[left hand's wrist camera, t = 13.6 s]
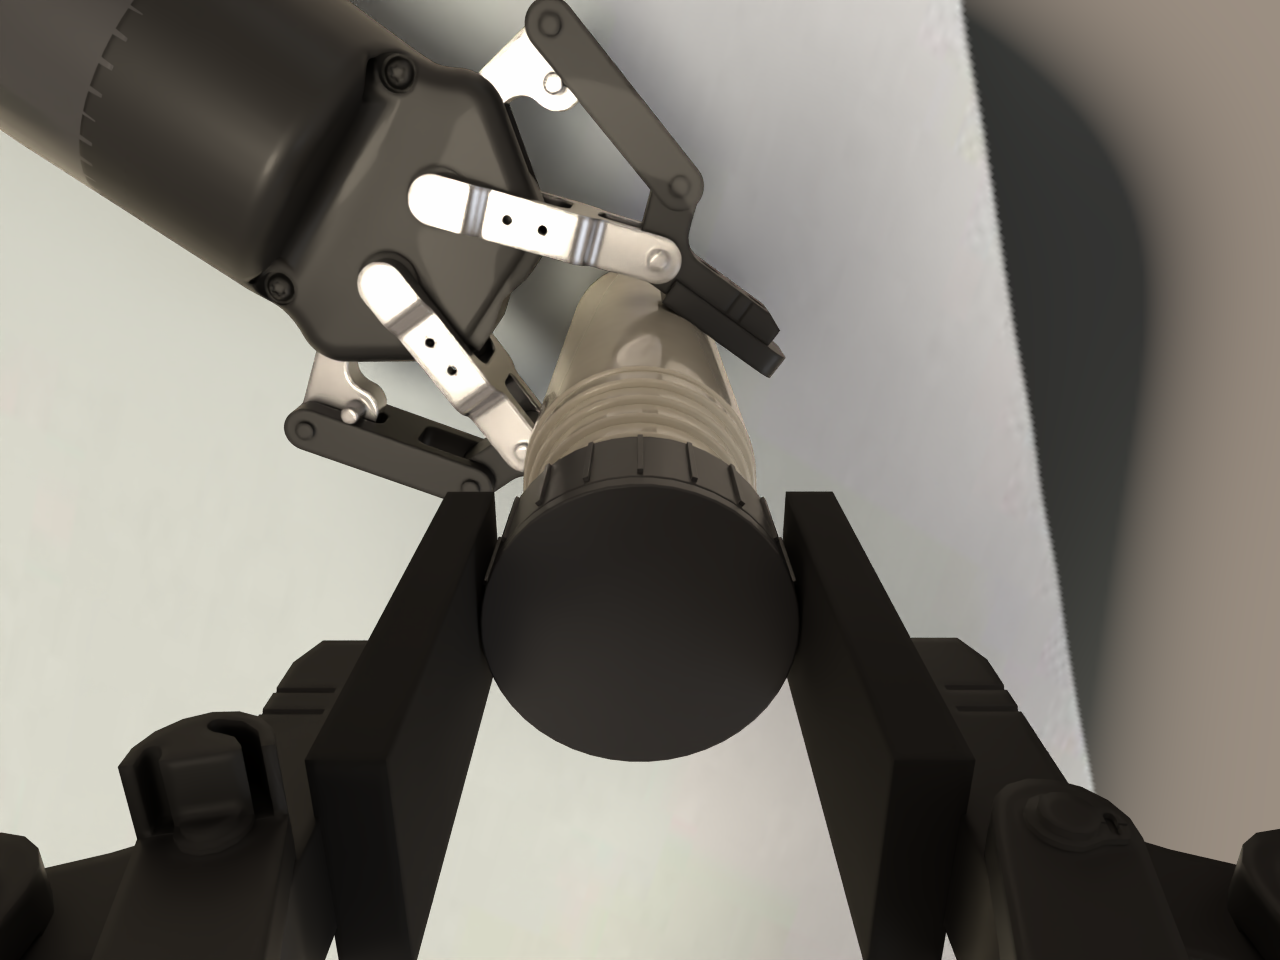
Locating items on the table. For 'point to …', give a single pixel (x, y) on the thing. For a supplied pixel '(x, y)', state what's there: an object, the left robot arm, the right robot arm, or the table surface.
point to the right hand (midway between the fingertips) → (713, 434)
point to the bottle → (637, 381)
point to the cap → (640, 601)
